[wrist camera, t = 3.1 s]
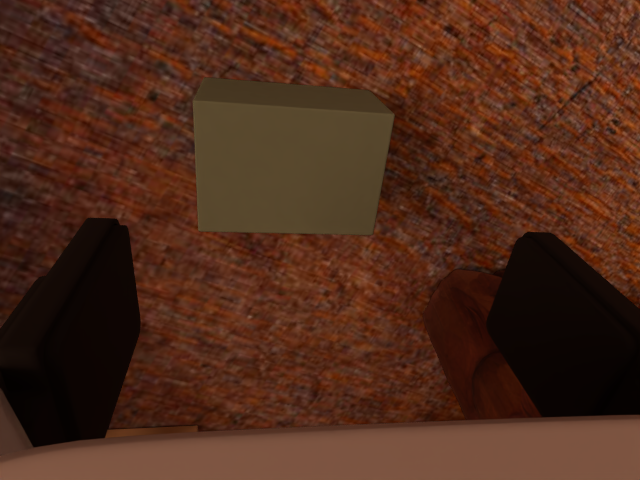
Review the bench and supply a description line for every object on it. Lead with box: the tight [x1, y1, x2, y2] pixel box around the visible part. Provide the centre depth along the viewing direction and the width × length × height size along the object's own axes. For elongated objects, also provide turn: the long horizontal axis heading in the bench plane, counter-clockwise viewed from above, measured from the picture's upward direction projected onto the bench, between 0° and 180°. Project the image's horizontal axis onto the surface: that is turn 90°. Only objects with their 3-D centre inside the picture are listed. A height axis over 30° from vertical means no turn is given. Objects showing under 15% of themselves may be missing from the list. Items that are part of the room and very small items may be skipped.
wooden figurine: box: [423, 269, 542, 420], centre depth 19 cm, size 12×6×18 cm, turn 71°
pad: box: [193, 77, 395, 235], centre depth 18 cm, size 7×5×4 cm
